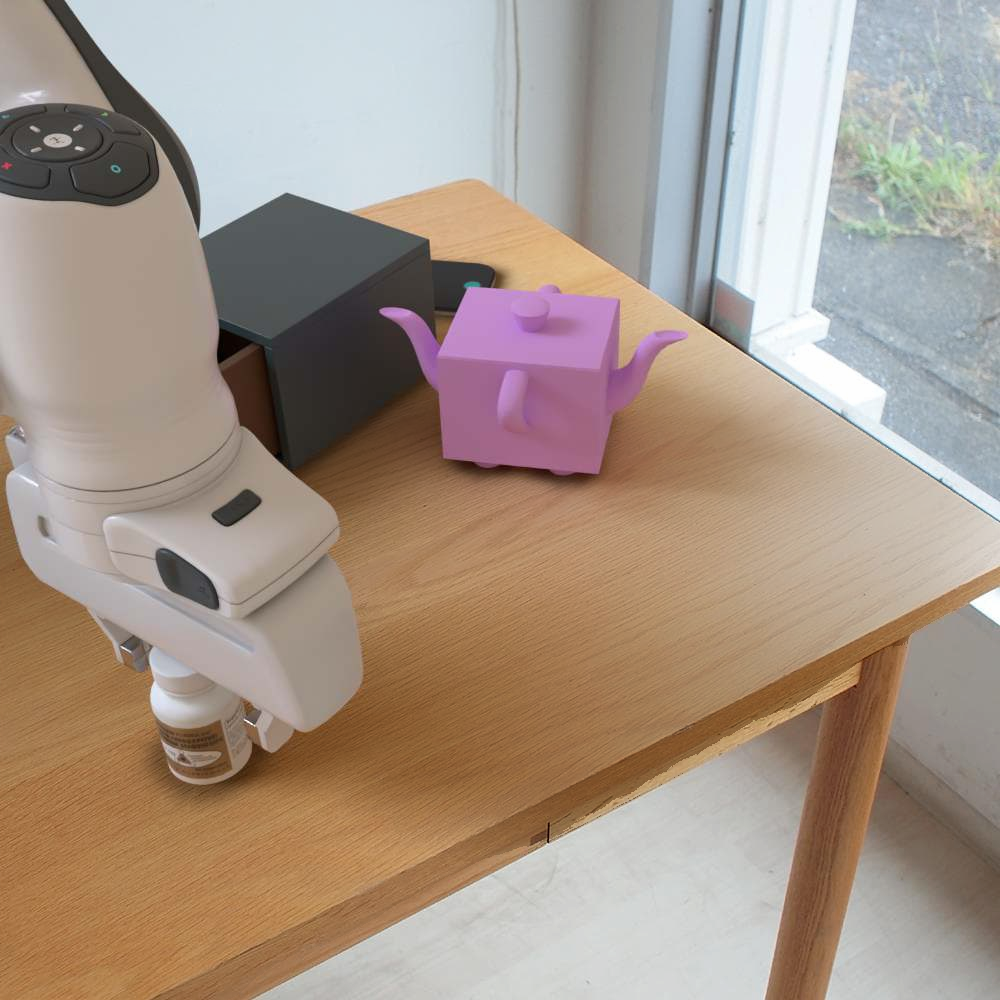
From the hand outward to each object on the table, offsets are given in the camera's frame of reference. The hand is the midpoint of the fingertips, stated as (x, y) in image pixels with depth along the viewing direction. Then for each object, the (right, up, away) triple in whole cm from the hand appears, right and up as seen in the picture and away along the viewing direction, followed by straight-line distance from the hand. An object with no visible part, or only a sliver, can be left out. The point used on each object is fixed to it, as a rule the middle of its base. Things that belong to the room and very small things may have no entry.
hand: (204, 698), depth 67 cm
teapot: (+17, +14, +23) cm, 32 cm away
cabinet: (0, +18, +29) cm, 35 cm away
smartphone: (+7, +27, +40) cm, 49 cm away
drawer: (-6, +13, +22) cm, 26 cm away
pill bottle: (0, -4, +3) cm, 5 cm away
